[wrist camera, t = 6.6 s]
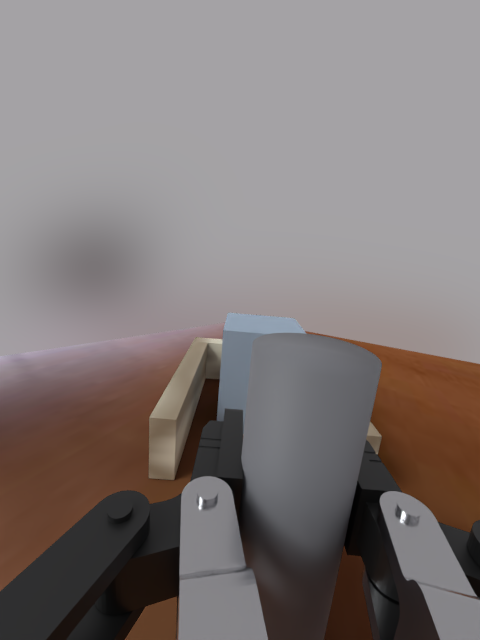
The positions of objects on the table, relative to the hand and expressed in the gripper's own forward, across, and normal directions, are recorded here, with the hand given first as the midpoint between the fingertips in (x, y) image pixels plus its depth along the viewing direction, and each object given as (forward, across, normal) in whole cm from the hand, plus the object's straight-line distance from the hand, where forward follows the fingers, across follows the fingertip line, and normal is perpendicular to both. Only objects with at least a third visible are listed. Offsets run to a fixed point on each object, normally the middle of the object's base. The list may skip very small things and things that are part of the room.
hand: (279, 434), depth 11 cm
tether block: (+5, 0, +6) cm, 8 cm away
